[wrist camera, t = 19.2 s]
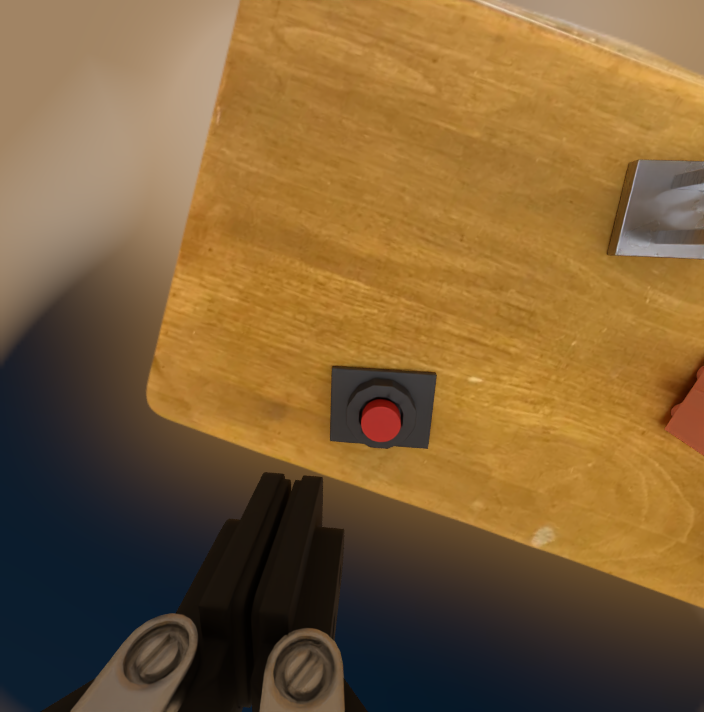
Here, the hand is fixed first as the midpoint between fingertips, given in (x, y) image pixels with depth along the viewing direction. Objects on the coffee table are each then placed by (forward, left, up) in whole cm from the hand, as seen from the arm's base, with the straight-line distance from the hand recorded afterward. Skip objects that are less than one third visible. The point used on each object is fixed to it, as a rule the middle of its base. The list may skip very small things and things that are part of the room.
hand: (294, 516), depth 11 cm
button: (+3, -8, -23) cm, 25 cm away
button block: (+3, -8, -25) cm, 27 cm away
